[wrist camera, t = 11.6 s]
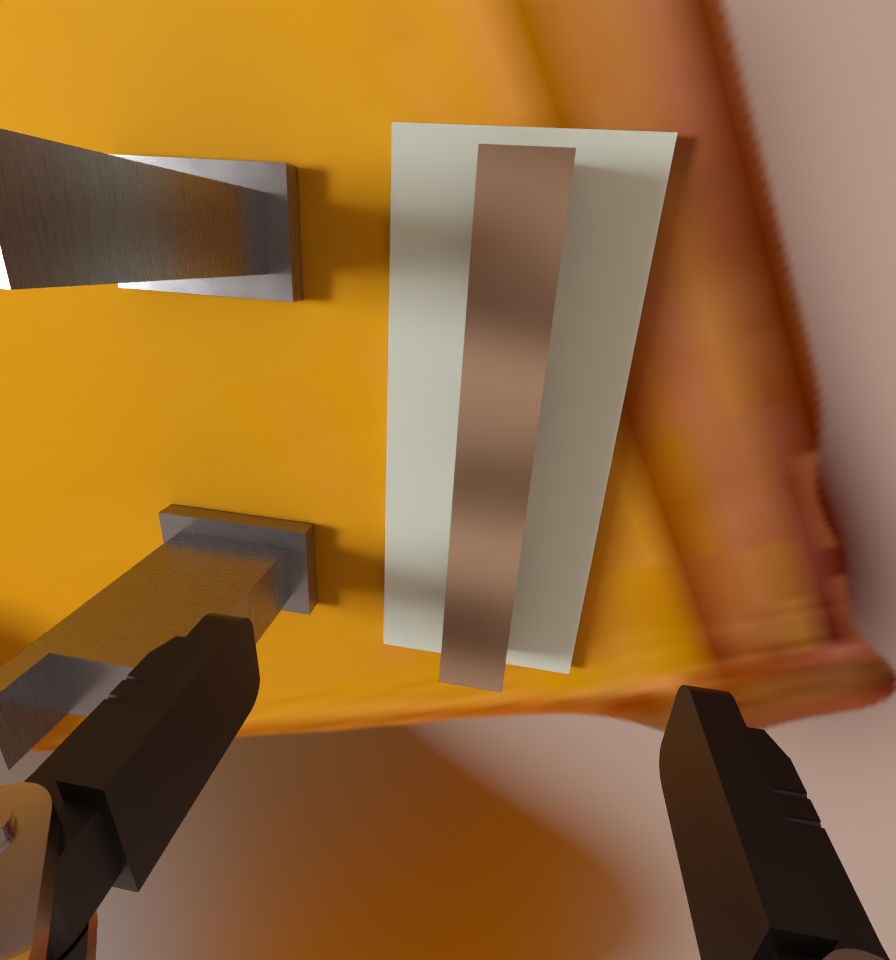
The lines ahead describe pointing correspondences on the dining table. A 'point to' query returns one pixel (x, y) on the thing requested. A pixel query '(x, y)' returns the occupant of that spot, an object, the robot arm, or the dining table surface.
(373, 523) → the dining table surface
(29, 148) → the forked posts
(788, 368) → the dining table surface
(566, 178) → the walnut bar
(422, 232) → the white flat slab
